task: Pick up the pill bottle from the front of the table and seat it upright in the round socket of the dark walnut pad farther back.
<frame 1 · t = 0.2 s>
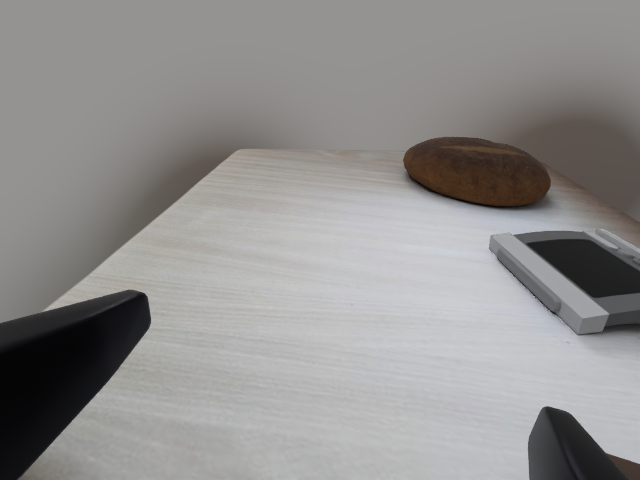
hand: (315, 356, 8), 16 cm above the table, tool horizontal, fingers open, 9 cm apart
grey boxy piece: (584, 286, 44), on the table
bread: (467, 184, 77), on the table
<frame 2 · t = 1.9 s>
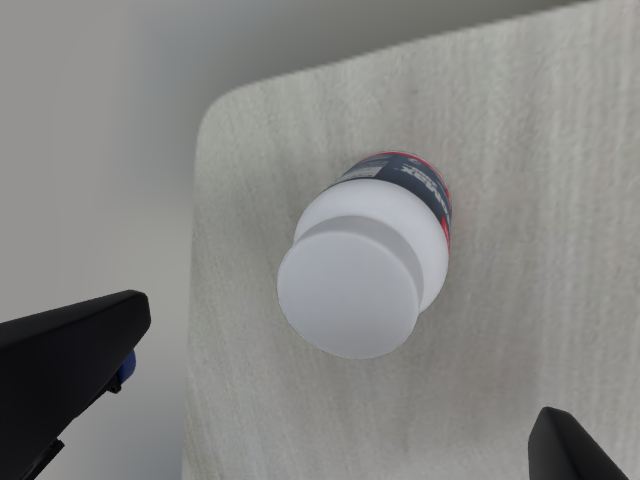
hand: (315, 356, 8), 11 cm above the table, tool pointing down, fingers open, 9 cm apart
pill bottle: (394, 203, 18), on the table
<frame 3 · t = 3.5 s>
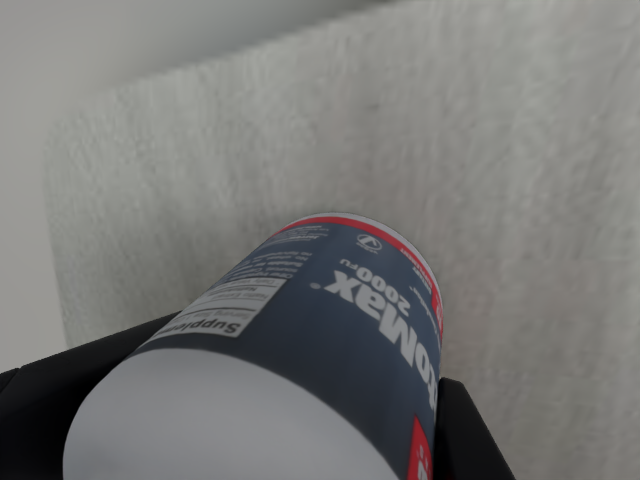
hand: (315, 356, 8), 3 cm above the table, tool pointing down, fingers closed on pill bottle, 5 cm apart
pill bottle: (346, 293, 11), on the table, touching gripper
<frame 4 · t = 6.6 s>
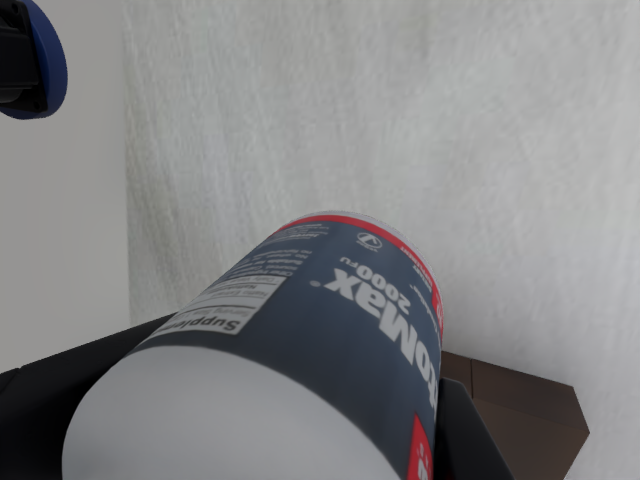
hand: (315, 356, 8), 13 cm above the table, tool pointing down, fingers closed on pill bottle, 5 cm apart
pill bottle: (346, 292, 11), point 10 cm above the table, touching gripper
socket pad: (385, 421, 25), on the table
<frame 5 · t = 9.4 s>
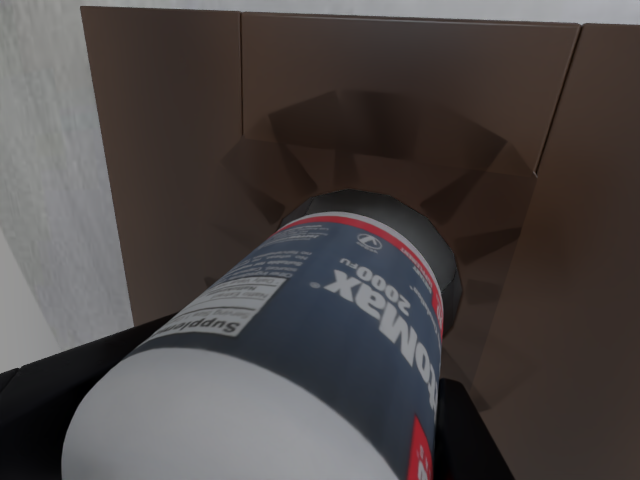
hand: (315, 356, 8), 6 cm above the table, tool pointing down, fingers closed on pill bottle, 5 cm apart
pill bottle: (346, 293, 11), point 4 cm above the table, touching gripper
socket pad: (375, 246, 14), on the table
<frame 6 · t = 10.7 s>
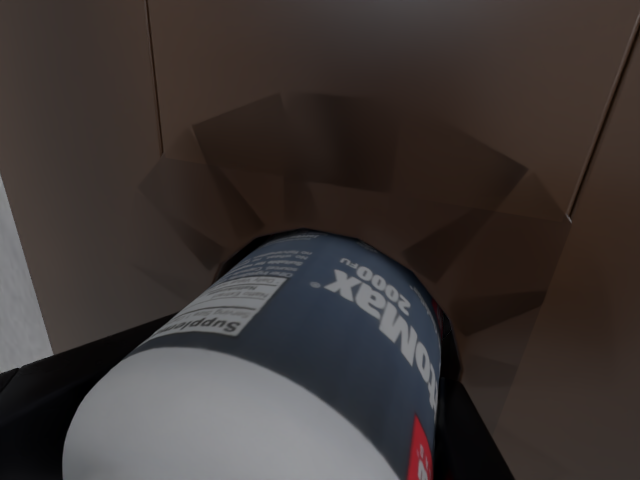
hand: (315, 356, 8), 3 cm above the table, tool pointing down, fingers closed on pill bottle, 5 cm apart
pill bottle: (347, 293, 11), point 1 cm above the table, touching gripper
socket pad: (353, 287, 11), on the table
when the fingers open (4 cm above the table, at t = 15.7 s): pill bottle drops 1 cm, resting in socket pad.
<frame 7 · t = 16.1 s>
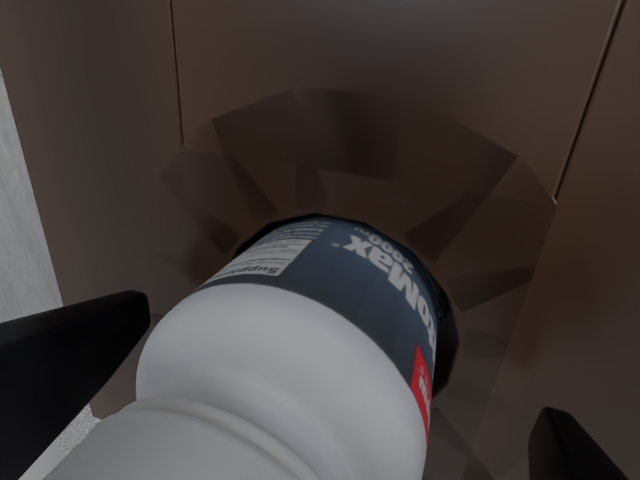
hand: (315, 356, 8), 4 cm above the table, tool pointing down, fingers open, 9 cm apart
pill bottle: (356, 268, 12), resting in socket pad
socket pad: (357, 273, 12), on the table
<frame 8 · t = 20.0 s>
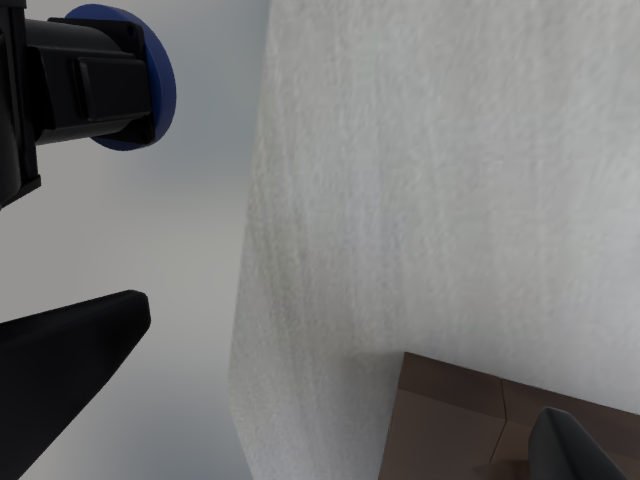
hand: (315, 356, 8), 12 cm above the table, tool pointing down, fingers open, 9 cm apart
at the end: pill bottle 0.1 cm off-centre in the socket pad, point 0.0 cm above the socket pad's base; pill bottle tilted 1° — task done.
